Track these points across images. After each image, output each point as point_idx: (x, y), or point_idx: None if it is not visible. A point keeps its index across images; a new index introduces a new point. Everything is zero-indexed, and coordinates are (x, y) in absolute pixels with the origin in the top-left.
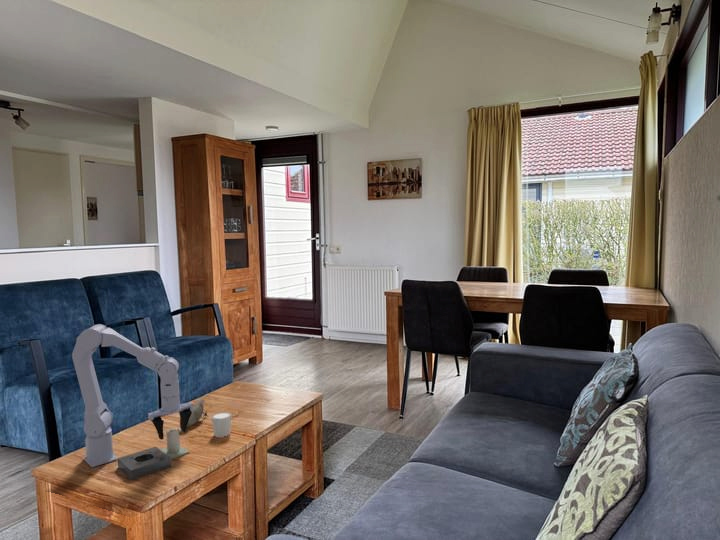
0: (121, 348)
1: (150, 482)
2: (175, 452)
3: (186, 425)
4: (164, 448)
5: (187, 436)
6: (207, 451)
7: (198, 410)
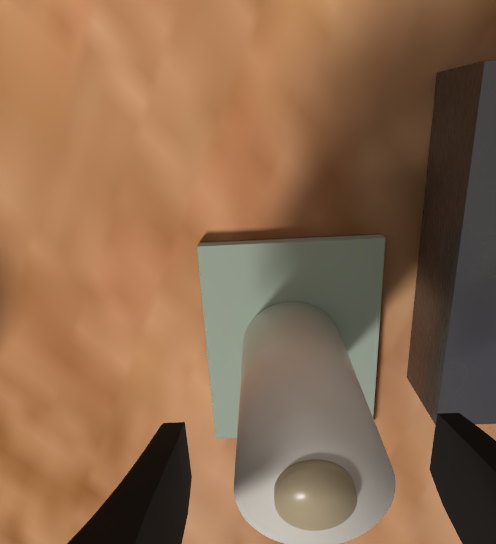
0: None
1: None
2: (297, 303)
3: (129, 482)
4: None
5: None
6: (59, 158)
7: None
